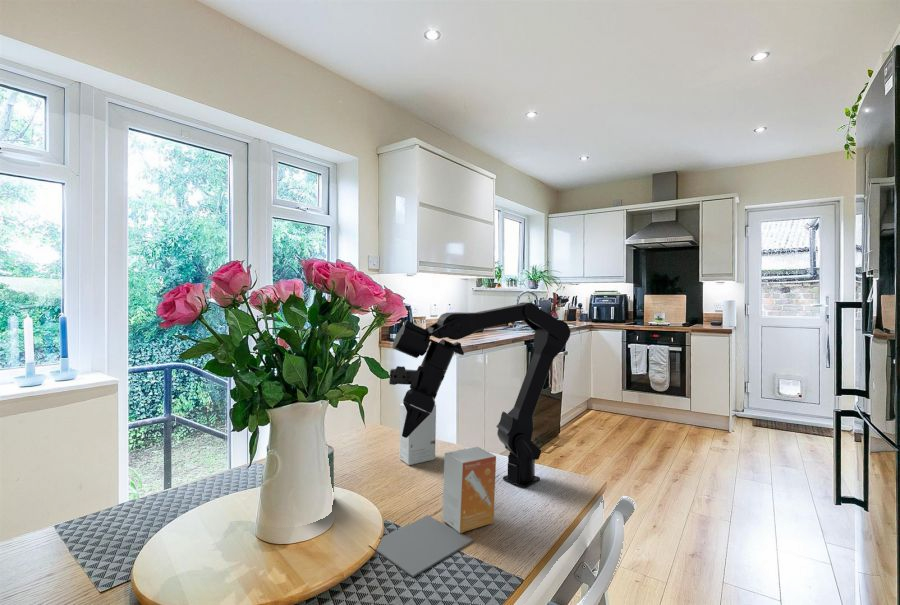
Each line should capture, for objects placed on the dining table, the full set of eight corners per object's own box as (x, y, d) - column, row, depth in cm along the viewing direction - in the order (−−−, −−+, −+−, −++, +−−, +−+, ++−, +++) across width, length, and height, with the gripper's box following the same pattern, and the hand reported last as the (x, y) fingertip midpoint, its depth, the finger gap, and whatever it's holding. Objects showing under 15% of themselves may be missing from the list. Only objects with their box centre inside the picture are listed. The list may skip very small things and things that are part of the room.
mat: (427, 516, 86) (427, 515, 86) (473, 541, 77) (473, 539, 77) (368, 545, 76) (368, 543, 76) (412, 577, 67) (412, 575, 67)
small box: (460, 534, 79) (462, 462, 79) (441, 519, 84) (443, 452, 84) (494, 523, 83) (497, 455, 83) (474, 509, 88) (476, 445, 88)
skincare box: (408, 466, 111) (408, 408, 110) (398, 458, 116) (398, 403, 115) (436, 459, 115) (437, 403, 115) (425, 452, 120) (425, 399, 120)
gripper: (404, 350, 106) (378, 411, 104) (396, 352, 87) (364, 425, 86) (447, 369, 105) (421, 429, 104) (447, 374, 87) (416, 448, 85)
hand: (406, 432), depth 95 cm, fingers open, 9 cm apart
